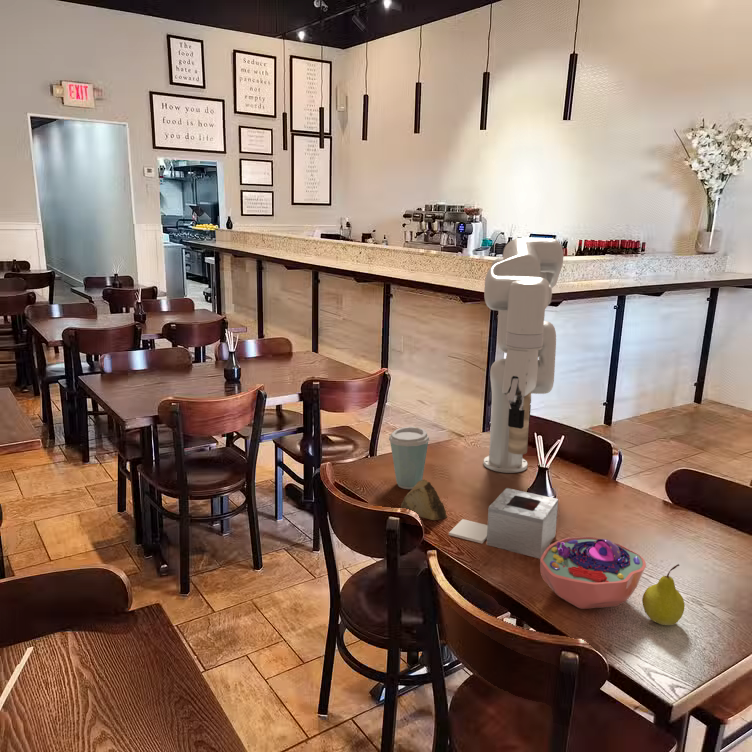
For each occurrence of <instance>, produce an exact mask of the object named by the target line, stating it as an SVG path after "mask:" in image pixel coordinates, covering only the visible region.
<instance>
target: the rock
mask: <svg viewBox="0 0 752 752" xmlns="http://www.w3.org/2000/svg"><path fill="white" fill-rule="evenodd" d="M401 508H406V509H409V510H412V511H414V512H416V513H417V514H419V516H420V517H421V518H423V519H428V520H431V521H437V520H444V519H446V518H448V514H447V511H446V509H445V506H444V503H443V502H442V501H441V499H440V496H439V495H438V493H437V491H436V489H435V488H434V486H433V485H432V484H431V482H429V481H428V480H426V479H422V480H421V481H418V482H417V484H416V485H415V486H414V487H413V488H412V489H410V491H409V492H407V494H406V495H405V497H403V501H402V502H401V504H400V509H401ZM419 516H418V517H419Z"/></svg>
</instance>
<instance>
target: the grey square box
mask: <svg viewBox="0 0 752 752" xmlns="http://www.w3.org/2000/svg"><path fill="white" fill-rule="evenodd" d="M558 504H559V499H558V498H556V497H550V496H546V495H541V494H536V493H532V492H527V491H522V490H517V489H513V488H509V487H506V488H505V489H504V490H503V491H502V492H501V493H500V494H499V495H498V496H497V498H496V499H494V500H493V502H492V503H491V504H490V505H489V506H488V509H487V510H488V511H487V512H488V513H487V525H488V527H487V539H486V546H489V547H494V548H497V549H501V550H505V551H509V552H513V553H516V554H520V555H524V556H528V557H532V558H534V559H535V558H536V559H539V560H540V558H541V556H542V555H543V553H544V551H545V550H546V548H547V547H548V546H550V545H551V544H552V541H554V540H553V539H555V536H556V531H557V521H558V520H557V519H558V518H557V517H558V509H559V508H558V506H559V505H558Z"/></svg>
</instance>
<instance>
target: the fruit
mask: <svg viewBox="0 0 752 752" xmlns="http://www.w3.org/2000/svg"><path fill="white" fill-rule="evenodd" d="M678 567H680V564H679V563H678V564H676V565H674V566H673V567H671V568H670V570H669V571H668V573H667V575H663V576H661V577H660V578H659V580H658V582H657V583H656V584H653V585H650V586H648V587H647V588H646V590H645V591H644V593H643V596H642V598H641V600H642V602H641V603H642V607H643V610H644V612H645V614H646V615H647V617H648V618H649V619H650V620H651V621H652V622H655V623H657V624H659V625H661V626H672V625H676V624H677V623H678V622H679V621H680V619H682V617H683V614H684V611H685V601H684V598H683V596H682V594H681V593H680V592H679V591H678V590H677V589H676V587H675V580H674V578H672V577H671V576H670V573H671V572H672V571H673V570H675V569H676V568H678Z"/></svg>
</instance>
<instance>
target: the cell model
mask: <svg viewBox="0 0 752 752" xmlns="http://www.w3.org/2000/svg"><path fill="white" fill-rule="evenodd" d="M539 562H540V563H539V568H540V575H541V579H543V580H544V582H545V583H546V584H547V585H548V586H549V588H550V589H551V591H553V592H554V594H556V595H557V596H558V597H559V598H560V599H562V600H564V601H566V602H567V603H569V604H571V605H573V606H575V607H576V608H578V609H580V610H581V609H582V610H587V609H588V610H589V609H594V608H595V609H596V608H597V609H598V608H599V609H600V608H611V607H612V608H613V607H617V606H620V605H622V604H623V603H626V602H627V601H628V600H629V599H630V598H631V596H632V595H633V593H634V592H635V590H636V589H637V587H638V585H639V582H640V580H641V578H642V575H644V574H643V573H644V572H645V569H646V566H647V565H646V564H647V563H646V560H645V559H644V557H643V556H642V555H641V554H639V553H638V552H635V551H634V550H632V549H630V548H628V547H626V546H624V545H622V544H620V543H618V542H617V543H616V542H613V541H612V540H609V539H605V538H598V537H591V536H580V537H579V536H578V537H565V538H562V539H559V540H556V541H554V542H553V543H550V545H549V546H548V547H547V548H546V550H545V551H544V553H543V555H542V556H541V558H540V559H539Z"/></svg>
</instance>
